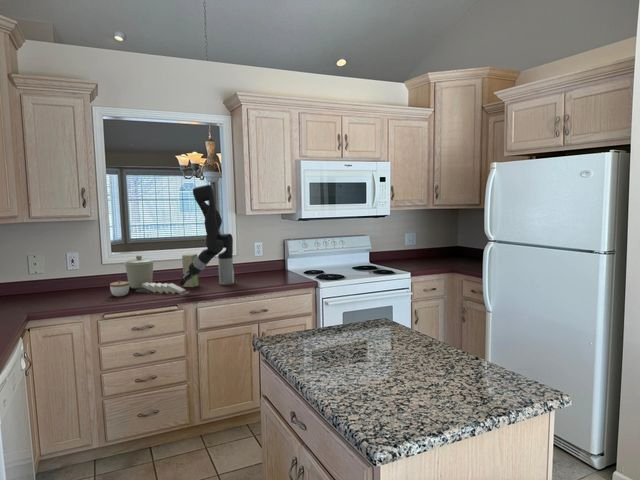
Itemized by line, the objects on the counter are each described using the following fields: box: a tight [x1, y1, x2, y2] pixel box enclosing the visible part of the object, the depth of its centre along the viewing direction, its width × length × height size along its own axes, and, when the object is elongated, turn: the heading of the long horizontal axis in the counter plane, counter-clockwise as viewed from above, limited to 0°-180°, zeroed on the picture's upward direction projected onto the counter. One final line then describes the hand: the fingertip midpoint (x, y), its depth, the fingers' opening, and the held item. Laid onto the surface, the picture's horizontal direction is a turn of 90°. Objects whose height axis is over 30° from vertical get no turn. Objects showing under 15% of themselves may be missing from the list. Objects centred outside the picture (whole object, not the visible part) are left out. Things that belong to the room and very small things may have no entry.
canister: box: [123, 254, 155, 290], centre depth 290 cm, size 18×18×21 cm
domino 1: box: [135, 288, 152, 294], centre depth 276 cm, size 2×5×10 cm
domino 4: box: [154, 282, 171, 293], centre depth 273 cm, size 2×5×10 cm
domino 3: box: [148, 282, 164, 293], centre depth 274 cm, size 2×5×10 cm
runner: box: [147, 290, 190, 296], centre depth 272 cm, size 24×9×1 cm, turn 75°
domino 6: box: [166, 283, 186, 294], centre depth 270 cm, size 2×5×10 cm
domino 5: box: [160, 282, 177, 294], centre depth 272 cm, size 2×5×10 cm
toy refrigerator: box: [181, 253, 199, 288], centre depth 290 cm, size 8×7×21 cm
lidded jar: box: [109, 279, 130, 297], centre depth 268 cm, size 11×11×9 cm
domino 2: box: [142, 282, 158, 293], centre depth 275 cm, size 2×5×10 cm
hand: (181, 284), depth 269 cm, fingers closed
